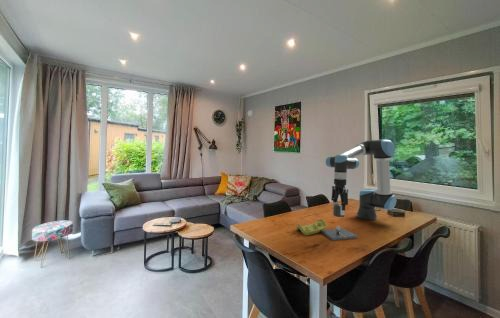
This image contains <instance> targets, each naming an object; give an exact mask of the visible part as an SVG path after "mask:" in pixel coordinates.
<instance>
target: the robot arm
mask: <svg viewBox="0 0 500 318" xmlns="http://www.w3.org/2000/svg"><path fill="white" fill-rule="evenodd" d="M395 152H396V148H395V144H394V142H392V140H390V139H369V140H366V141H362V142H360V143H358V144H356V145H355V146H353V147H352V148H350V149H347V150H346V151H343V152H342V153H340V154H336V155H335V156H327V158H326V159H325V165H326V166H327V167H329V168H334V173H333V177H334V179H333V184H334V185H331V189H332V190H331V201H332V202H333V203H332V204H333V205H332V207H334V205H335V204H339V201H338V200H339V198H340V203H341V204H340V205H341V208H340V215H344V216H345V214H346V212H345V211H346V206H348V205H349V194H348V193H349V189H347V188H346V187H345V186H346V185H347V175H348V170H355V169H357V168H359V166H360V161H359V158H358V157H363V156H373V159H374V160H375V164H376V167H375V168H376V185H377V187H376V188H377V190H376V189H362V190H360V191H359V199H358V200H359V204H358V209H357V212H356V218H359V219H362V220H367V221H376V220H377V219H378V216H377V212H376V208H379V209H382V210H387V211H391V210H393V209H394V208H395V206H396V205H397V196H396V195H394V193H393V190H391V173H390V159H392V156H393V155H394V154H395ZM339 196H340V197H339ZM333 211H334V208H333ZM333 211H332V212H333Z"/></svg>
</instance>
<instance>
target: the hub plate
mask: <svg viewBox="0 0 500 318" xmlns="http://www.w3.org/2000/svg"><path fill="white" fill-rule="evenodd" d="M319 233H320V234H322V235H324V237H327V238H328V239H330V240H331V241H333V242H334V241H341V240H342V241H343V240H353V239H358V235H357V234H355V233H353V232H352V231H350V230H347V229H346V228H343V227H341V226H340V225H336V228H331V229H330V228H329V229H324V230H321V231H319Z"/></svg>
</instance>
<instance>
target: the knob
mask: <svg viewBox="0 0 500 318" xmlns="http://www.w3.org/2000/svg"><path fill="white" fill-rule="evenodd" d="M340 208H341V204H339V203H338V204H335V205H334V206H333V209H334V211H332V213H333V216H334V217H337V218H344V217H345V215H340Z"/></svg>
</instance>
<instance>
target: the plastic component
mask: <svg viewBox="0 0 500 318" xmlns="http://www.w3.org/2000/svg"><path fill="white" fill-rule="evenodd" d="M327 226H328V223H326V221H325V220H324V219H323V218H320V219H319V220H317V221H314V222H313V223H311V224H306V225H301V224H300V223H298V224H297V226H296V227H295V229H296V230H297V231H301V233H302V235H304V236H310V235H314V234H318V233H320V231H321V230H326V229H327Z"/></svg>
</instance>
